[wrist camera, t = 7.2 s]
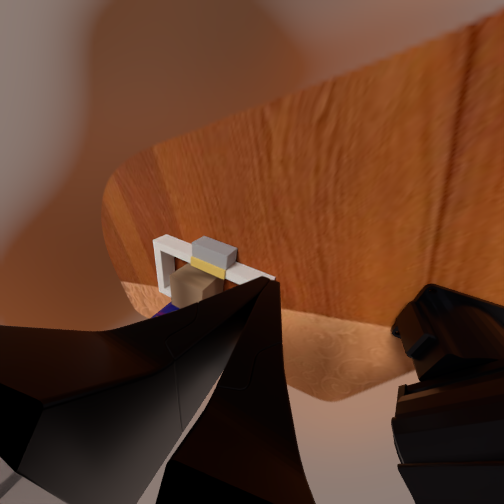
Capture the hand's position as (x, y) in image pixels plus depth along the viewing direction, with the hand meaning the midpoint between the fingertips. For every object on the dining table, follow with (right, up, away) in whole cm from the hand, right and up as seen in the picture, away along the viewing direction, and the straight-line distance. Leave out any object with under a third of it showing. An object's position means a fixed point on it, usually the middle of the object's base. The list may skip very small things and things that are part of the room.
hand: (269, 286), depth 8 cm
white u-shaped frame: (-6, -3, +19) cm, 20 cm away
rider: (-7, -2, +20) cm, 21 cm away
